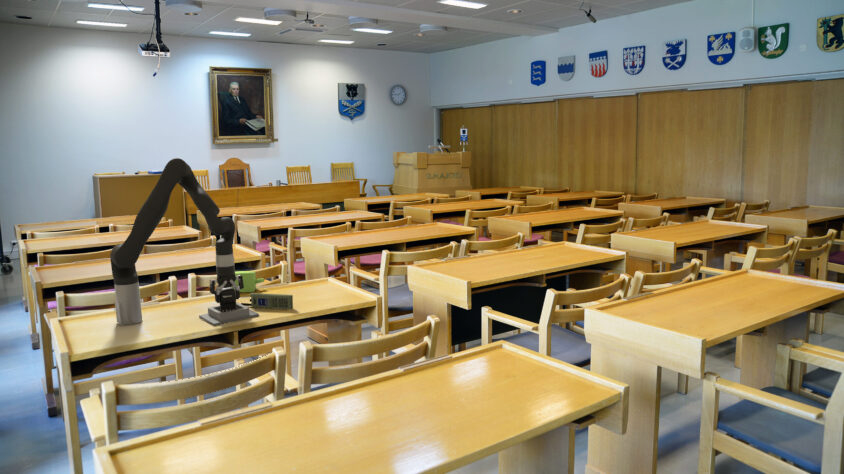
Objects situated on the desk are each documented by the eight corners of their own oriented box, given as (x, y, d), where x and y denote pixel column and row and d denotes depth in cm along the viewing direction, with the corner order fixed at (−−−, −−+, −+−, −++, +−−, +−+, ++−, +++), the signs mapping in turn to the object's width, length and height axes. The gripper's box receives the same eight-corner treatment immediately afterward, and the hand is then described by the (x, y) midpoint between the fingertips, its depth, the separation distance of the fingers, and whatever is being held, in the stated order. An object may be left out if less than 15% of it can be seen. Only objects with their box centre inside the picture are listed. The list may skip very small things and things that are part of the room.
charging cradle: (214, 326, 258) (213, 316, 258) (199, 317, 270) (198, 308, 269) (258, 315, 271) (258, 307, 271) (242, 308, 283) (241, 299, 282)
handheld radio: (290, 310, 279) (239, 308, 284) (293, 308, 283) (242, 306, 288) (290, 296, 279) (238, 293, 283) (293, 294, 282) (242, 292, 287)
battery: (220, 316, 268) (218, 290, 266) (220, 313, 272) (218, 288, 270) (237, 314, 270) (235, 289, 268) (237, 312, 273) (235, 287, 271)
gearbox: (265, 287, 321) (265, 269, 319) (263, 291, 311) (262, 273, 310) (229, 288, 318) (228, 270, 317) (226, 292, 308) (225, 274, 307)
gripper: (212, 268, 259) (215, 306, 262) (244, 263, 268) (247, 299, 271) (205, 265, 265) (208, 302, 268) (237, 260, 274) (239, 296, 277)
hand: (227, 300), depth 269 cm, fingers open, 8 cm apart
